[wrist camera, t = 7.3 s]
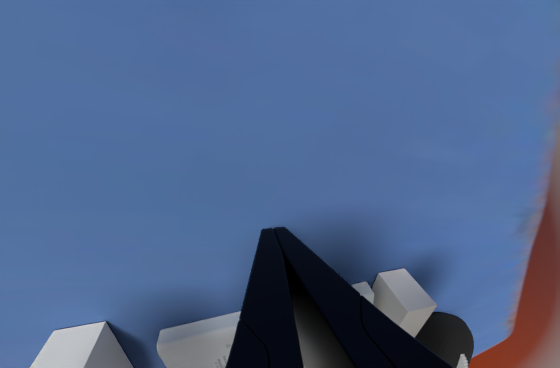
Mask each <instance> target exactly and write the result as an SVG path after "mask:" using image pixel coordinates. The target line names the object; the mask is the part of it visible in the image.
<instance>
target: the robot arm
mask: <svg viewBox="0 0 560 368" xmlns="http://www.w3.org/2000/svg"><path fill="white" fill-rule="evenodd" d="M225 368H454V367H452V366H451V365H450V364H448V363H447V362H446V361H444V360H443V359H442V358H440V357H439V356H438V355H436V354H435V353H434V352H432V351H431V350H430V349H428V348H427V347H426V346H424V345H423V344H422V343H421V342H419V341H418V340H417V339H415V338H414V337H413V336H411V335H410V334H409V333H407V332H406V331H405V330H404V329H402V328H401V327H400V326H398V325H397V324H396V323H395V322H393V321H392V320H391V319H390V318H389V317H387V316H386V315H385V314H384V313H383V312H381V311H380V310H379V309H378V308H377V307H375V306H374V305H373V304H372V303H371V302H370V301H369V300H367V299H366V298H365V297H364V296H363V295H360V293H359V292H358V291H357V290H356V289H355V288H354V287H352V286H351V285H350V284H349V283H348V282H347V281H346V280H344V279H343V278H342V277H341V276H340V275H339V274H338V273H336V272H335V271H334V270H333V269H332V268H331V267H330V266H329V265H327V264H326V263H325V262H324V261H323V260H322V259H321V258H319V257H318V256H317V255H316V254H315V253H314V252H313V251H311V250H310V249H309V248H308V247H307V246H306V245H305V244H303V243H302V242H301V241H300V240H299V239H298V238H297V237H295V236H294V235H293V234H292V233H291V232H290V231H289V230H287V229H286V228H285V227H276V228H274V229H272V228H267V229H262V230H261V234H260V238H259V242H258V246H257V250H256V254H255V257H254V261H253V265H252V269H251V273H250V277H249V281H248V285H247V289H246V293H245V297H244V301H243V305H242V309H241V313H240V317H239V321H238V324H237V328H236V332H235V336H234V340H233V343H232V347H231V350H230V354H229V357H228V361H227V364H226V367H225Z"/></svg>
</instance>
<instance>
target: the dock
mask: <svg viewBox="0 0 560 368" xmlns="http://www.w3.org/2000/svg"><path fill="white" fill-rule="evenodd" d="M371 290H372V291H373V293H374V301H373V305H374V306H375V307H377V308H378V309H379V310H380V311H381V312H383V313H384V314H385V315H386V316H387V317H389V318H390V319H391V320H392V321H393V322H395V323H396V324H397V325H398V326H400V327H401V328H402V329H404V330H405V331H406V332H407V333H409V334H410V335H411V336H413V337H414V338H415V336H416V335H417V333H418V332H419V331H420V329H421V328H422V326H423V325H424V324H425V322H426V321H427V319H428V318H429V317H430V315H431V314H432V312H433V311H434V309H435V308H436V307H437V304H436V303H435V302H434V301H433V300H432V298H431V297H430V296H429V295H428V294H427V293H426V292H425V291H424V290H423V288H422V287H421V286H420V285H419V284H418V283H417V282H416V281H415V280H414V278H413V277H412V276H411V275H410V274H409V273H408V272H407V271H406V270H405V268H404V269H398V270H392V271H387V272H381V273H378V275H377V277H376V280H375V282H374V285H373V287H372V289H371ZM30 368H133V366H132V364H131V363H130V361H129V359H128V358H127V356H126V354H125V353H124V351H123V349H122V348H121V346H120V344H119V343H118V341H117V339H116V338H115V336H114V334H113V333H112V331H111V329H110V328H109V326H108V324H107V323H106V321H105V322H99V323H94V324H88V325H82V326H77V327H71V328H65V329H60V330H54V331H53V333H52V335H51V336H50V338H49V339H48V341H47V342H46V344H45V345H44V347H43V348H42V350H41V351H40V353H39V354H38V356H37V357H36V359H35V361H34V362H33V364H32V365H31V367H30Z"/></svg>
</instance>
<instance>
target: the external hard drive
mask: <svg viewBox="0 0 560 368" xmlns="http://www.w3.org/2000/svg"><path fill="white" fill-rule="evenodd" d="M351 286H352V287H354V288H355V289H356V290H357V291H358V292H359V293H360V295H363V296H364V297H365V298H366V299H367V300H369V301H370V302H371V303H372V304H373V301H374V293H373V291H372V290H371V288H370V286H369V285H368V283H367V282H366V281H365V282H361V283H357V284H352V285H351ZM240 313H241V311H238V312H234V313H230V314H226V315H221V316H217V317H213V318H209V319H204V320H200V321H196V322H192V323H188V324H183V325H179V326H175V327H171V328H166V329H162V330H160V333H159V338H158V341H157V352H158V355H159V356H160V358H161V359H162V361H163V362H164V364H165V365H166V367H167V368H225V367H226V364H227V361H228V357H229V354H230V350H231V347H232V343H233V340H234V336H235V332H236V328H237V324H238V321H239V317H240Z"/></svg>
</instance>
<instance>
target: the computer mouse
mask: <svg viewBox="0 0 560 368" xmlns="http://www.w3.org/2000/svg"><path fill="white" fill-rule="evenodd" d="M415 339H417V340H418V341H419V342H421V343H422V344H423V345H424V346H426V347H427V348H428V349H430V350H431V351H432V352H434V353H435V354H436V355H438V356H439V357H440V358H442V359H443V360H444V361H446V362H447V363H448V364H450V365H451V366H452V367H454V368H468V366H469V363H470V360H471V357H472V354H473V348H474V341H473V336H472V333H471V331H470V330H469V328H468V326H467V325H466V323H465V322H464V321H463V320H462V319H460V318H459V317H457V316H454V315H450V314H446V313H440V312H434V313H432V314H431V315H430V317H429V318H428V319H427V321H426V322H425V324H424V325H423V326H422V328H421V329H420V331H419V332H418V333H417V335H416V336H415Z"/></svg>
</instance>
